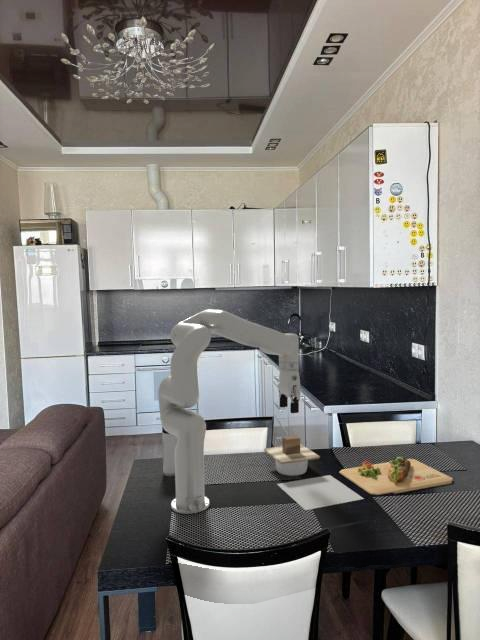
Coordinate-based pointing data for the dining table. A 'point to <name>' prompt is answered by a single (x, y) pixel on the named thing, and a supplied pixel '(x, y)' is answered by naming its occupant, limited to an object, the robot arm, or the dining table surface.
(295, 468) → the ramekin
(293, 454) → the oak lid
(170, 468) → the travel mug
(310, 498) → the rubber mat
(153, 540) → the dining table surface
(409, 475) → the cutting board
